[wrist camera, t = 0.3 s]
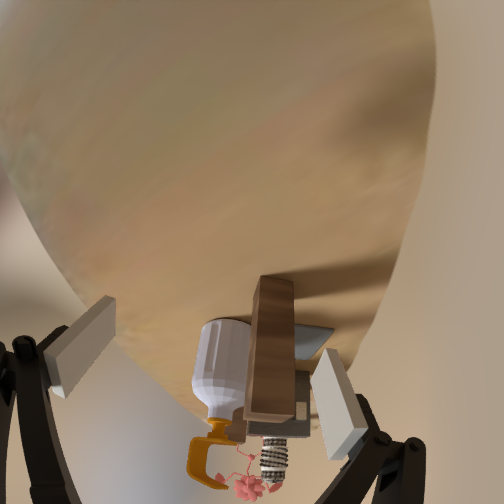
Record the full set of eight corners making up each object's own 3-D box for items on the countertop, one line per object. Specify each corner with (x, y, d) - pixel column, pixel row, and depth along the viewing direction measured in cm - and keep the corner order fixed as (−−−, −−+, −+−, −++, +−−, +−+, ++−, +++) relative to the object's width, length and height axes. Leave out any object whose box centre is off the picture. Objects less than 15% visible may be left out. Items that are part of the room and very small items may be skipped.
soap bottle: (267, 342, 44) (258, 490, 26) (218, 347, 47) (199, 483, 29) (246, 313, 38) (228, 492, 21) (191, 321, 41) (161, 479, 23)
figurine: (218, 420, 95) (210, 498, 70) (283, 422, 90) (279, 504, 65) (228, 426, 105) (222, 496, 80) (286, 427, 100) (283, 500, 76)
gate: (260, 276, 33) (250, 411, 21) (293, 281, 33) (294, 415, 21) (228, 367, 53) (219, 441, 41) (247, 370, 53) (241, 444, 41)
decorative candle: (284, 412, 78) (281, 483, 60) (293, 417, 83) (291, 482, 65) (258, 414, 81) (253, 482, 63) (269, 419, 86) (265, 481, 68)
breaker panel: (255, 363, 50) (250, 432, 40) (311, 369, 51) (312, 435, 41) (251, 370, 53) (246, 435, 43) (305, 375, 54) (305, 438, 44)
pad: (270, 320, 39) (270, 322, 39) (333, 328, 40) (333, 331, 40) (254, 352, 47) (254, 354, 46) (308, 358, 48) (308, 360, 47)
